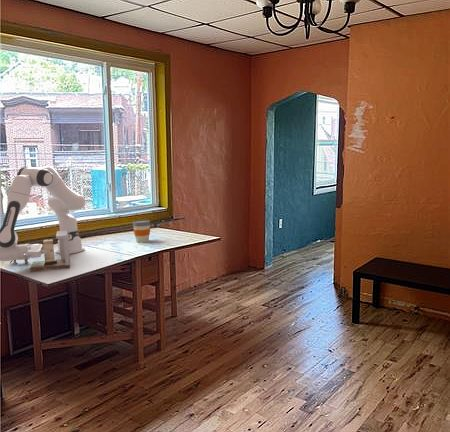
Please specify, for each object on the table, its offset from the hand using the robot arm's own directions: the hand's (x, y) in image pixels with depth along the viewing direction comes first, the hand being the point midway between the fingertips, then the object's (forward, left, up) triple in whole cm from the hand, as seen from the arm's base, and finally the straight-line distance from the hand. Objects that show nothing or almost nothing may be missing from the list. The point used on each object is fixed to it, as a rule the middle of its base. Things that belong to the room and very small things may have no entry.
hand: (50, 249), depth 263 cm
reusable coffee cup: (-49, +60, -10) cm, 78 cm away
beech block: (0, -1, -6) cm, 7 cm away
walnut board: (0, 0, -10) cm, 10 cm away
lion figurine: (-16, -17, -11) cm, 26 cm away
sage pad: (0, -8, -8) cm, 11 cm away
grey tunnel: (0, +7, -8) cm, 11 cm away
